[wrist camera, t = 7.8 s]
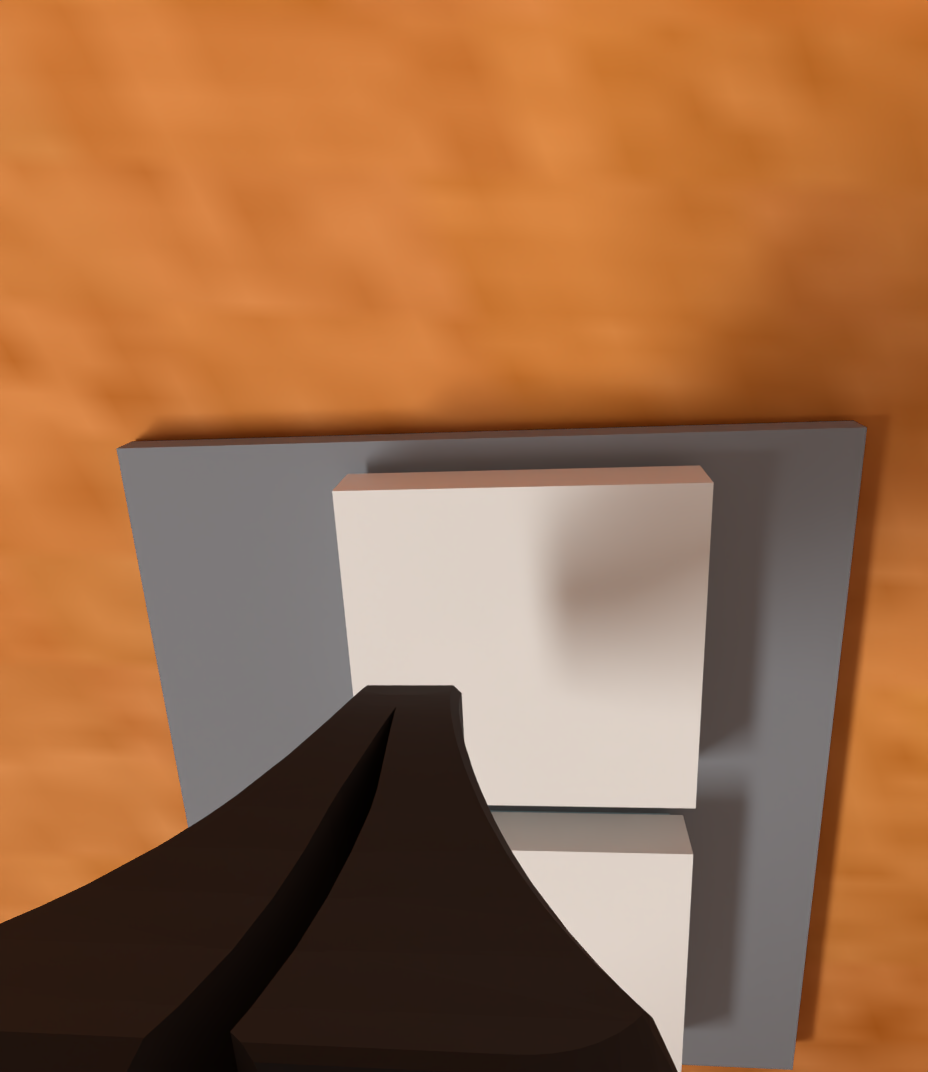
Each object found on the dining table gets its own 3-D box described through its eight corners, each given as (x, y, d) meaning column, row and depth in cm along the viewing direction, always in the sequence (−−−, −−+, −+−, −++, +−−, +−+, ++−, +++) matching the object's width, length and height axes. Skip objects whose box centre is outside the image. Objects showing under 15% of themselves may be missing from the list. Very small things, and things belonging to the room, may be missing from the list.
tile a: (403, 1019, 18) (669, 1030, 18) (393, 1077, 17) (680, 1092, 17) (382, 800, 17) (680, 804, 16) (368, 847, 15) (692, 854, 15)
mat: (784, 1044, 19) (792, 1069, 18) (238, 1021, 20) (229, 1043, 19) (853, 420, 14) (867, 427, 13) (132, 441, 15) (115, 448, 15)
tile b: (378, 759, 16) (682, 761, 16) (364, 803, 15) (695, 808, 14) (350, 469, 14) (696, 460, 14) (331, 490, 13) (713, 482, 12)
